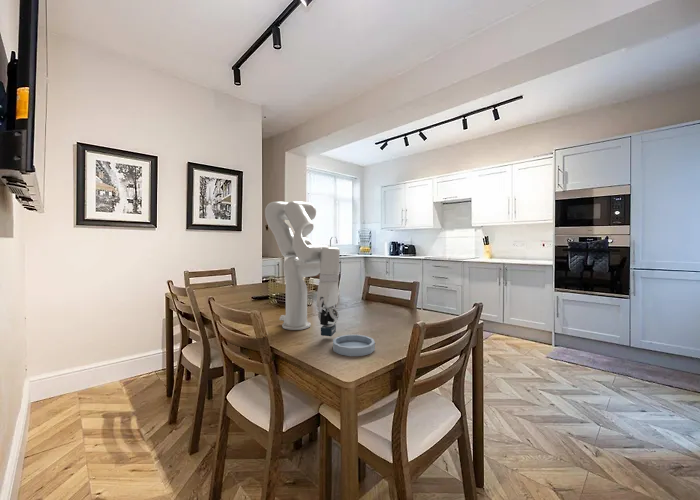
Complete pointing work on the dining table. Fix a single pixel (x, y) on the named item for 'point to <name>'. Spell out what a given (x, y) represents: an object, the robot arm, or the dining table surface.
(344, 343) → the dish
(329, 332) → the watch
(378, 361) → the dining table surface
